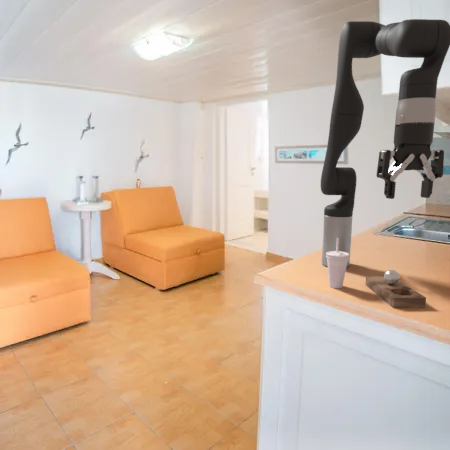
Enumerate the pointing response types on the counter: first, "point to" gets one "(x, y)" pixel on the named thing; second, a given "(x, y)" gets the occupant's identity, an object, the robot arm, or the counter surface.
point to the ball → (391, 277)
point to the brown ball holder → (395, 293)
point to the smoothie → (336, 266)
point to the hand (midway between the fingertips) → (407, 197)
